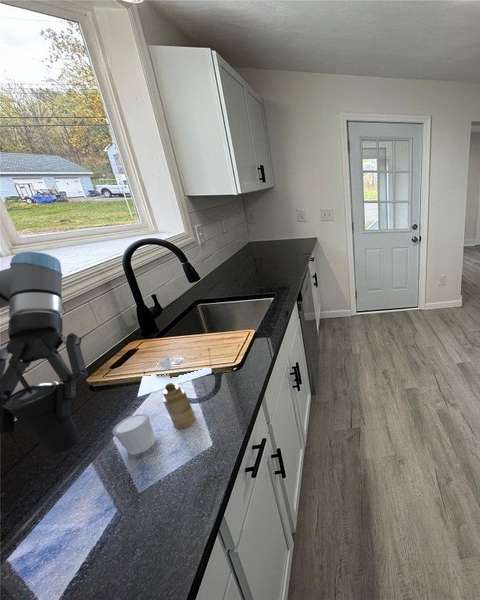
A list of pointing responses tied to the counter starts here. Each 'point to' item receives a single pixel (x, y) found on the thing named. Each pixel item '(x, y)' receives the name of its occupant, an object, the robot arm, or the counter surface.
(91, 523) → the counter surface
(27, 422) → the drinking cup
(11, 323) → the robot arm
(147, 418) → the white short cylinder
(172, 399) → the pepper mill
